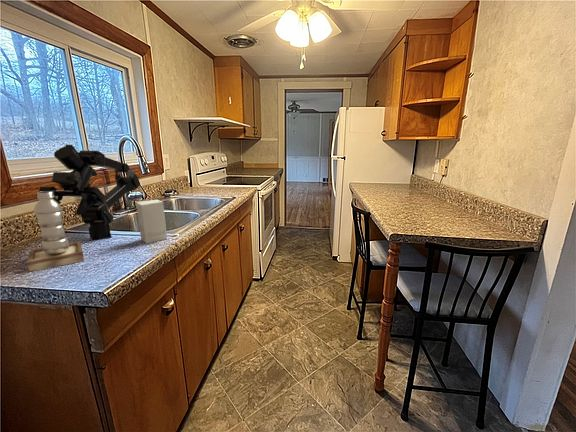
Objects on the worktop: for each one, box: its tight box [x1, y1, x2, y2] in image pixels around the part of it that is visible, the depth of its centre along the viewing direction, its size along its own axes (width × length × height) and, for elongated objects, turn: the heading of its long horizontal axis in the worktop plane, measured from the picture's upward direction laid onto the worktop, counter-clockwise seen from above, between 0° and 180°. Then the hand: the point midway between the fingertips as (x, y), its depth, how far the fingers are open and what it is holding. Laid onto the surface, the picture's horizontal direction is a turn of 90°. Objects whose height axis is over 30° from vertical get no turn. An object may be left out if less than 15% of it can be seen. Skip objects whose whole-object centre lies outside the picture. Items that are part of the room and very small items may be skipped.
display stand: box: [26, 241, 85, 272], centre depth 88 cm, size 13×13×3 cm
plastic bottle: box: [33, 191, 70, 254], centre depth 86 cm, size 6×7×20 cm
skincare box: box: [135, 199, 168, 244], centre depth 106 cm, size 8×7×16 cm
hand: (62, 214), depth 91 cm, fingers open, 9 cm apart
